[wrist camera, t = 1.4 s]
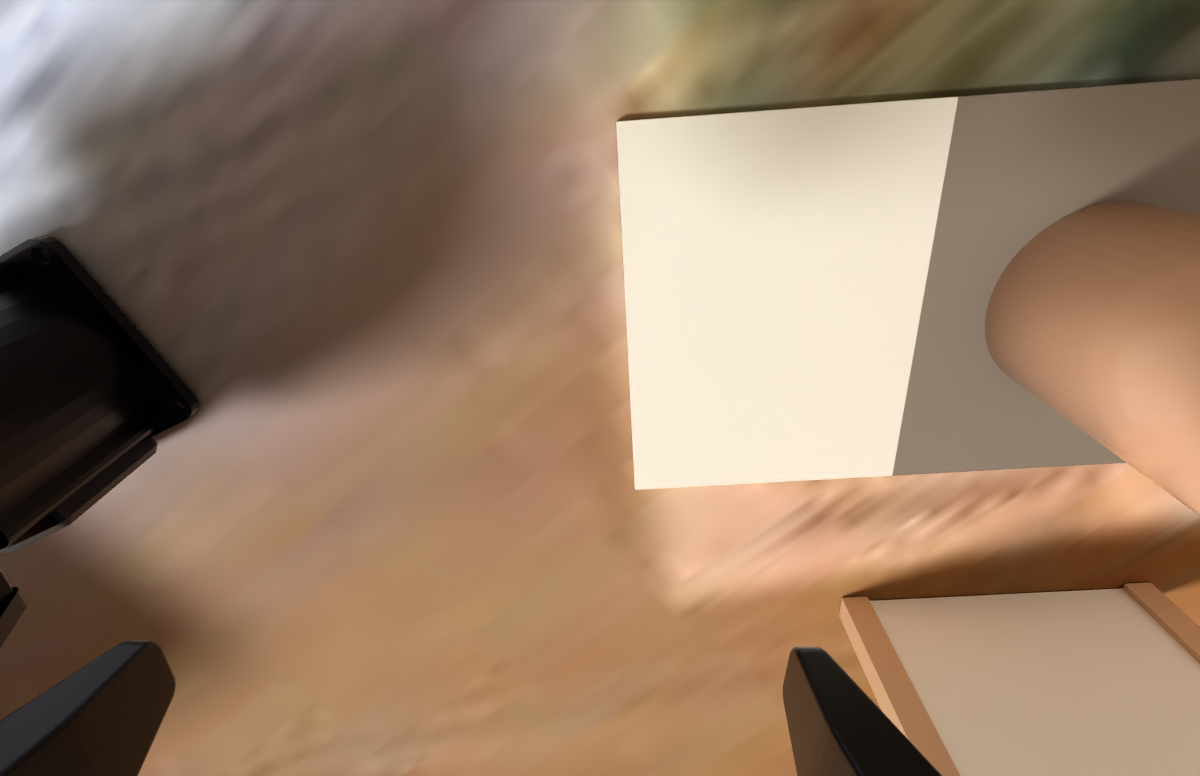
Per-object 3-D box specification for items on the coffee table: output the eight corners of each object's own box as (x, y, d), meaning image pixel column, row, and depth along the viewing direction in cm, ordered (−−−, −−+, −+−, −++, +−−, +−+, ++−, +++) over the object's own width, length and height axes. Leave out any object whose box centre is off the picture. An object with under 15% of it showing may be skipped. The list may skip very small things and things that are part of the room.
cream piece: (641, 625, 25) (661, 881, 17) (615, 121, 17) (631, 159, 9) (1178, 599, 25) (1460, 853, 16) (1434, 61, 16) (2271, 42, 8)
